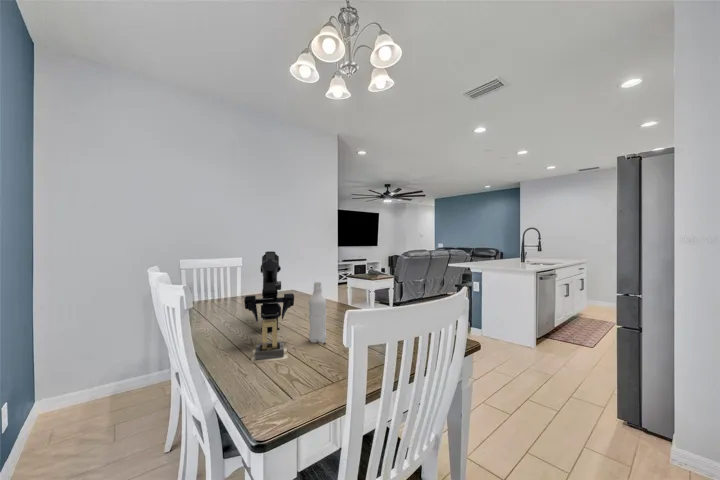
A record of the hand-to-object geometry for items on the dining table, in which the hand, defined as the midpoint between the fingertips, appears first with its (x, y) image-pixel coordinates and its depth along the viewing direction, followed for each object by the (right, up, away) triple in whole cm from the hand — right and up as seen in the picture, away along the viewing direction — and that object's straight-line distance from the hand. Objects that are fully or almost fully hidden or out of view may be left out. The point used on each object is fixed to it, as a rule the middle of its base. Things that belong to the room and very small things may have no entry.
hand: (269, 320), depth 108 cm
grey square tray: (+2, -12, -5) cm, 13 cm away
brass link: (+2, -11, -5) cm, 12 cm away
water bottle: (+17, -12, +9) cm, 23 cm away
